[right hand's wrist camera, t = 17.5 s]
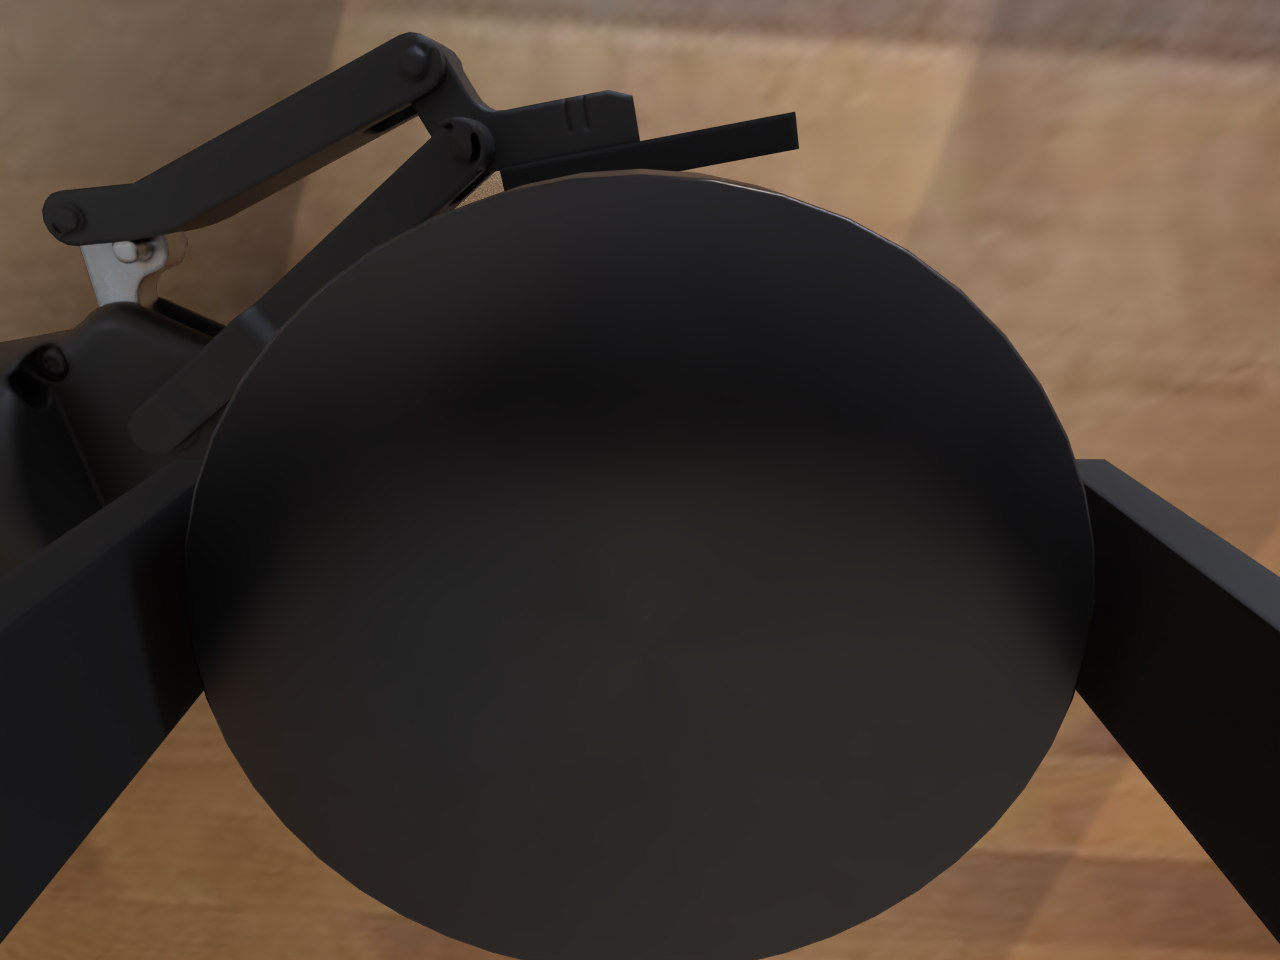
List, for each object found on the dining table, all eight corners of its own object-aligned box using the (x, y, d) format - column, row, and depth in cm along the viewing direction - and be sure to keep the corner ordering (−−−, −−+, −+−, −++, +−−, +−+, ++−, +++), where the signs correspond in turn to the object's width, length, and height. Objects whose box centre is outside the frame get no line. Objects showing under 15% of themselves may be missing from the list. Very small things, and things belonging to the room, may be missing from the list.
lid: (1174, 571, 12) (1274, 651, 10) (638, 960, 15) (638, 1081, 13) (640, -47, 9) (642, -97, 7) (104, 569, 12) (3, 649, 10)
